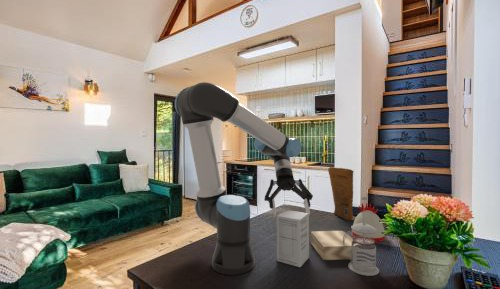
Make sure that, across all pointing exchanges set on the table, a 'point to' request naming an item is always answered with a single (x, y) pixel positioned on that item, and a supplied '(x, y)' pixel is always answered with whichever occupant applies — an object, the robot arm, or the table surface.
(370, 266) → the french press
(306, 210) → the robot arm
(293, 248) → the supplement box
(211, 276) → the table surface
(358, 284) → the table surface
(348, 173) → the pancake mix bag
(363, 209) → the crested helmet
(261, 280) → the table surface
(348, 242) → the oak riser
